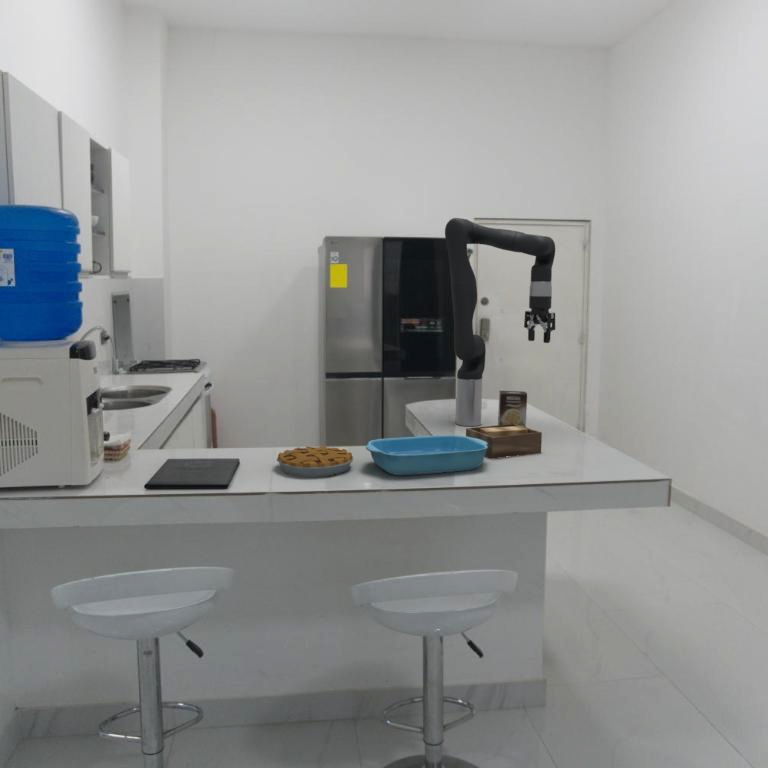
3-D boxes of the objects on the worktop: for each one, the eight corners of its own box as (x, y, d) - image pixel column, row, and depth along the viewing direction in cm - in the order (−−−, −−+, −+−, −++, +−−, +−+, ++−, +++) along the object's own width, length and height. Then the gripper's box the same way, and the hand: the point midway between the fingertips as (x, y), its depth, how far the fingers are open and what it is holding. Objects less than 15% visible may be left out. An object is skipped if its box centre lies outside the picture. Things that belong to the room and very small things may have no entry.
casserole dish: (467, 453, 233) (467, 430, 232) (501, 471, 212) (502, 446, 211) (355, 462, 220) (355, 439, 219) (380, 482, 200) (380, 456, 199)
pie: (367, 472, 210) (367, 455, 209) (297, 483, 198) (296, 465, 198) (331, 456, 228) (331, 440, 227) (264, 465, 217) (264, 448, 216)
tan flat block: (519, 435, 239) (520, 426, 239) (527, 438, 234) (527, 429, 234) (479, 437, 235) (479, 428, 235) (486, 441, 230) (486, 431, 230)
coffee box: (498, 440, 250) (499, 393, 247) (497, 436, 256) (498, 390, 253) (525, 441, 249) (527, 393, 246) (524, 437, 255) (525, 390, 253)
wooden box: (465, 448, 238) (466, 428, 237) (512, 442, 246) (513, 423, 245) (492, 458, 225) (492, 437, 224) (541, 452, 233) (541, 432, 232)
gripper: (562, 295, 251) (560, 343, 253) (536, 294, 264) (534, 339, 266) (544, 295, 248) (542, 344, 250) (519, 294, 260) (517, 340, 263)
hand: (538, 341), depth 258 cm, fingers open, 8 cm apart
